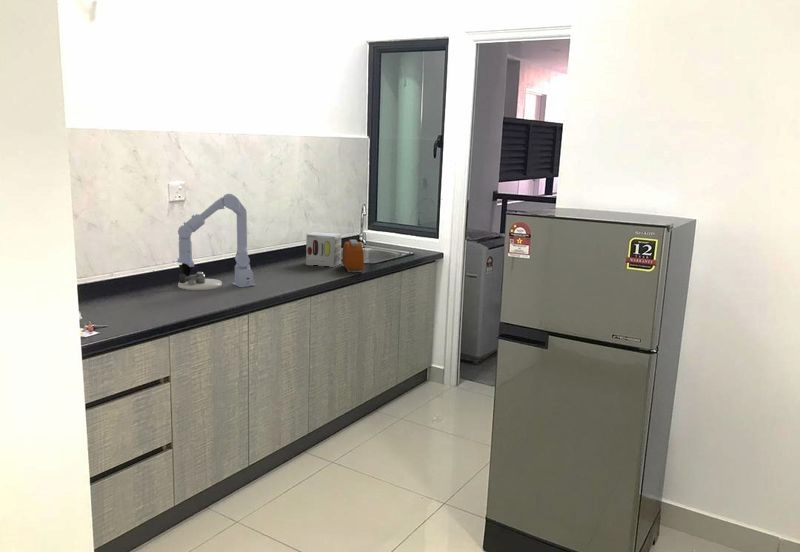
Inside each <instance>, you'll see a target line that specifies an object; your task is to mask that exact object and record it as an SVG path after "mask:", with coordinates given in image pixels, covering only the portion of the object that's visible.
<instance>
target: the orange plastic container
mask: <svg viewBox="0 0 800 552" xmlns="http://www.w3.org/2000/svg"><path fill="white" fill-rule="evenodd" d="M364 256H365V255H364V247H363V244H362V242H360V241H357V239H349V240H348V241H345V242H344V243H343V246H342V253H341V263H342V265H343V267H344V266H345V267H344V268H345V269H346V270H347V271H348V272H347V271H346V272H347V273H362V271H364V263H365V258H364Z"/></svg>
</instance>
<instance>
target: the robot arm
mask: <svg viewBox="0 0 800 552" xmlns="http://www.w3.org/2000/svg"><path fill="white" fill-rule="evenodd" d="M225 208H227V209H229V210H231V211H232V212H233V213H235V214H236V245H237V246H236V254H235V256H234V260H235V262H236V264H235V265H234V282H231V285H234V286H236V287H238V288H245V287H252V286H254V287H255V286H256V284H255V283H254V282H255V281H254V272H253V270H252V269H251V264H250V262H251V259H250V257H249V255H248V254H249V253H248V234H247V233H248V231H247V230H248V229H247V228H248V227H247V226H248V224H247V223H248V221H247V219H248V218H247V209H246V207H244V205H243V204H242V202H241V201H240V199H239V198H237V196H236V195H234V194H232V193H226V194H224V195H223V196H221V197H220V198H218V199H217V200H215V201H214V202H213V203H212V204H211V205H210V206H208V207H207V208H206V209H205V210H204V211H203V212H201V214H197V213H196V214H195V215H194V214H193V215H191V217H190V219H189V220H187V221H185V222H183V225H181V226H179V227H178V229H177V230H178V231H177V234H178V258H177V260H176V263H178V264H179V263H180V264H179V265H178V267H179V269H180V271H181V274H185V276H186V275H191V273H192V272H191V271H192V269H193V267H195V262H194V261H193V252H192V248H193V247H192V240H191V239H192V238H191V236H192V234H193V233H195V232H196V231H198V230H199V229H200V228H201V227H202V226H204V225H205V224H206V223H205V222H206V221H205V220H207V219H208V218H209V217H210V216H211V215H213V214H214V213H216V212H217V211H219V210H224V209H225Z"/></svg>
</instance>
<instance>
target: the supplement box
mask: <svg viewBox="0 0 800 552" xmlns="http://www.w3.org/2000/svg"><path fill="white" fill-rule="evenodd" d="M305 242H306V245H305V246H306V247H305V249H306V250H305V251H306V253H305V254H306V255H305V265H306V266H313V265H318V266H317V267H324V266H329V267H328V268H336V267H338V266H339V264H340V265H341V264H342V233H339V232H324V231H323V232H322V231H312V232H309V233H306V241H305ZM337 265H338V266H337ZM335 266H336V267H335Z"/></svg>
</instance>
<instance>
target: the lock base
mask: <svg viewBox="0 0 800 552" xmlns="http://www.w3.org/2000/svg"><path fill="white" fill-rule="evenodd" d="M222 286H223V282H222V281H221V280H220V279H216V278H215V279H214V278H205V283H196V282H195V281H194V280H193V279H190V280H188V282H186V283H180V281H179V282H178V283H177V287H178V288H179V289H180V288H181V290H184V289H185V291H197V290H198V291H211V290H216V289H219V288H221V287H222Z"/></svg>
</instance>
